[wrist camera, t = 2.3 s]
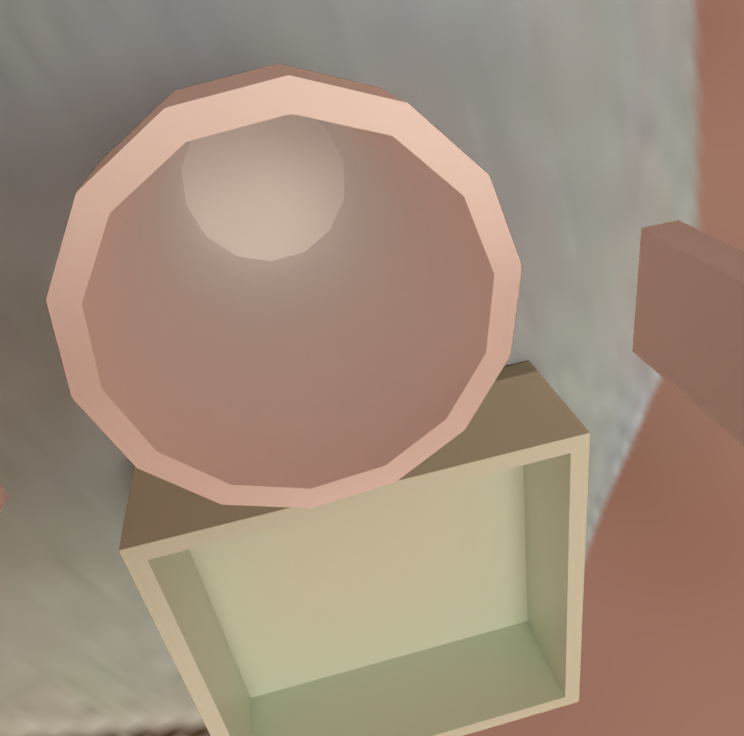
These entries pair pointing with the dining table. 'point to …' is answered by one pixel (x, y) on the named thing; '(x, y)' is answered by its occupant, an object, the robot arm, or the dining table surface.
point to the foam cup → (284, 290)
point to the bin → (383, 586)
